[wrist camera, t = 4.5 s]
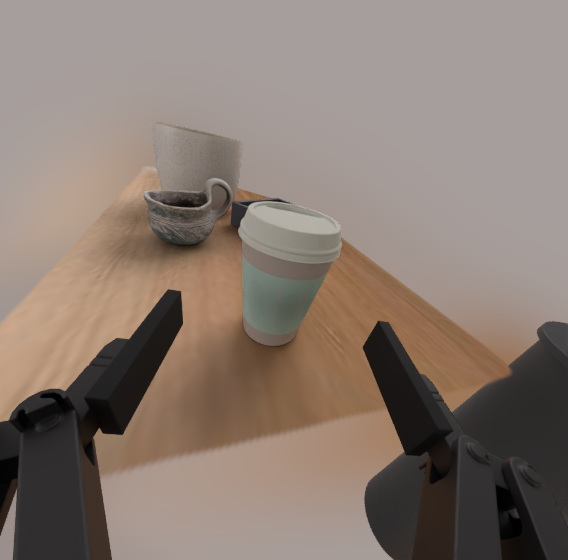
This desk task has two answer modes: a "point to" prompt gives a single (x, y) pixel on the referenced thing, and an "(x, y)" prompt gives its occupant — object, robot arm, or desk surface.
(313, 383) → the desk surface
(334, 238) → the coffee cup
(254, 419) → the desk surface
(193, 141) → the planter
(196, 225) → the mug
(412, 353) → the desk surface
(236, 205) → the bin
